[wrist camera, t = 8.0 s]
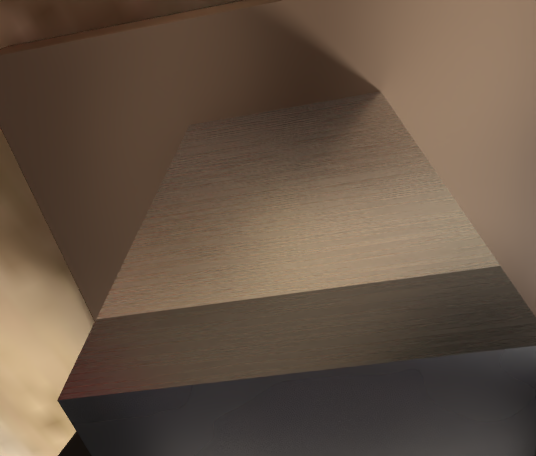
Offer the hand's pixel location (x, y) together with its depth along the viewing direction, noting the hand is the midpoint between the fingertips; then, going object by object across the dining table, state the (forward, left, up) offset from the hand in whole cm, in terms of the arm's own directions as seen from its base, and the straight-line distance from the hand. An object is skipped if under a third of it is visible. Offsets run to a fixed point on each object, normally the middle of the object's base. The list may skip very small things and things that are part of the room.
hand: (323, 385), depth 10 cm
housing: (0, 0, -3) cm, 3 cm away
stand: (0, 0, -4) cm, 4 cm away
